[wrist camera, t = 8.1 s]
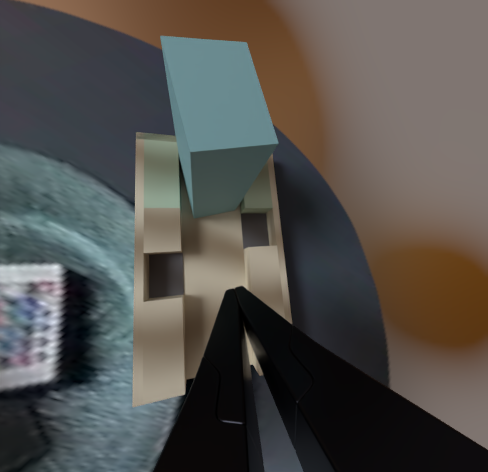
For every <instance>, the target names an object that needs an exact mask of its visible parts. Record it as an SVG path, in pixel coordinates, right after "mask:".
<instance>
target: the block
mask: <svg viewBox="0 0 488 472" xmlns="http://www.w3.org/2000/svg"><path fill="white" fill-rule="evenodd" d="M160 38H161V44H162V50H163V57H164V63H165V70H166V76H167V83H168V89H169V95H170V102H171V108H172V115H173V121H174V128H175V134H176V140H177V147H178V153H179V160H180V165H181V169H182V173H183V177H184V181H185V185H186V189H187V193H188V197H189V201H190V205H191V209H192V213H193V217H194V219H195V218H200V217H205V216H210V215H215V214H220V213H225V212H230V211H235V210H236V208H237V207H238V205H239V204H240V202H241V201H242V199H243V198H244V196H245V194H246V193H247V191H248V190H249V188H250V187H251V185H252V184H253V182H254V181H255V179H256V177H257V176H258V174H259V173H260V171H261V170H262V168H263V167H264V165H265V164H266V162H267V161H268V159H269V157H270V156H271V154H272V153H273V151H274V150H275V148H276V147H277V145H278V140H277V137H276V134H275V131H274V128H273V125H272V121H271V118H270V115H269V112H268V109H267V106H266V102H265V99H264V96H263V93H262V90H261V87H260V83H259V80H258V77H257V74H256V71H255V68H254V65H253V61H252V58H251V55H250V52H249V49H248V45H247V43H246V42H234V41H221V40H208V39H195V38H182V37H168V36H160Z"/></svg>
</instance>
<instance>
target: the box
mask: <svg viewBox="0 0 488 472" xmlns="http://www.w3.org/2000/svg"><path fill="white" fill-rule="evenodd" d="M238 286H244V287H245V288H246V289H247V290H249V291H250V292H251V293H252V294H254V295H255V296H256V297H258V298H259V299H260V300H261V301H263V302H264V303H265V304H267V305H268V306H269V307H270V308H272V309H273V310H274V311H275V312H277V313H278V314H279V315H281V316H282V317H283V318H284V319H286V320H287V321H288V322H289V323H291V324H292V317H291V309H290V300H289V292H288V283H287V275H286V266H285V257H284V249H283V240H282V232H281V223H280V215H279V206H278V198H277V189H276V181H275V172H274V163H273V155H272V154H271V156H270V157H269V159H268V161H267V162H266V164H265V165H264V167H263V168H262V170H261V171H260V173H259V174H258V176H257V177H256V179H255V181H254V182H253V184H252V185H251V187H250V188H249V190H248V191H247V193H246V194H245V196H244V198H243V199H242V201H241V202H240V204H239V205H238V207H237V208H236V210H235V211H230V212H225V213H220V214H215V215H210V216H205V217H200V218H195V219H194V217H193V213H192V209H191V205H190V201H189V197H188V193H187V189H186V185H185V181H184V177H183V173H182V169H181V165H180V160H179V153H178V147H177V140H176V136H171V135H160V134H150V133H139V132H136V180H135V258H134V336H133V407H136V406H140V405H144V404H148V403H152V402H156V401H160V400H164V399H168V398H172V397H176V396H180V395H184V394H185V389H186V380H187V379H191V378H195V376H196V373H197V371H198V368H199V365H200V362H201V359H202V357H204V356H203V354H204V352H205V349H206V346H207V343H208V340H209V337H210V334H211V331H212V328H213V325H214V323H215V320H216V317H217V314H218V311H219V308H220V305H221V302H222V299H223V297H224V294H225V291H226V290H228V289H232V288H235V287H238ZM244 329H245V328H244ZM245 333H246V331H245ZM246 340H247V347H248V355H249V362H250V365H252V364H253V365H254V367H255V369H256V370H257V372H258V374H259V376H261V375H263V372H262V370H261V367H260V365H259V363H258V360H257V358H256V356H255V353H254V351H253V348H252V346H251V344H250V341H249V339H248V336H247V334H246Z"/></svg>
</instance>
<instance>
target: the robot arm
mask: <svg viewBox="0 0 488 472" xmlns="http://www.w3.org/2000/svg"><path fill="white" fill-rule="evenodd" d="M244 328H245V329H244ZM245 331H246V333H245ZM246 334H247V336H248V339H249V341H250V344H251V346H252V348H253V351H254V353H255V356H256V358H257V360H258V363H259V365H260V367H261V370H262V372H263V375H264V377H265V379H266V382H267V384H268V387H269V389H270V391H271V394H272V396H273V399H274V401H275V403H276V406H277V408H278V411H279V413H280V415H281V418H282V420H283V423H284V425H285V427H286V430H287V432H288V435H289V437H290V439H291V442H292V444H293V446H294V449H295V450H296V454H297V456H298V459H299V461H300V463H301V466H302V469H303V471H304V472H488V450H487V449H486V448H484V447H482V446H481V445H479V444H477V443H476V442H474V441H473V440H471V439H470V438H468V437H466V436H465V435H463V434H461V433H460V432H458V431H456V430H455V429H454V428H452V427H450V426H449V425H447V424H446V423H444V422H442V421H441V420H439V419H438V418H436V417H434V416H433V415H431V414H430V413H428V412H426V411H425V410H423V409H422V408H420V407H418V406H417V405H415V404H413V403H412V402H410V401H409V400H407V399H406V398H404V397H402V396H401V395H399V394H398V393H396V392H394V391H393V390H391V389H390V388H388V387H386V386H385V385H383V384H382V383H380V382H378V381H377V380H375V379H374V378H372V377H370V376H369V375H367V374H366V373H364V372H362V371H361V370H359V369H358V368H356V367H354V366H353V365H351V364H350V363H348V362H346V361H345V360H343V359H342V358H340V357H338V356H337V355H335V354H334V353H332V352H330V351H329V350H327V349H326V348H324V347H323V346H321V345H320V344H318V343H317V342H315V341H314V340H312V339H311V338H309V337H308V336H307V335H305V334H304V333H303V332H301V331H300V330H299V329H298V328H296V327H295V326H293V325H292V324H291V323H289V322H288V321H287V320H286V319H284V318H283V317H282V316H281V315H279V314H278V313H277V312H275V311H274V310H273V309H272V308H270V307H269V306H268V305H267V304H265V303H264V302H263V301H261V300H260V299H259V298H258V297H256V296H255V295H254V294H252V293H251V292H250V291H249V290H247V289H246V288H245V287H244V286H238V287H235V288H232V289H228V290H226V291H225V294H224V297H223V299H222V302H221V305H220V308H219V311H218V314H217V317H216V320H215V323H214V325H213V328H212V331H211V334H210V337H209V340H208V343H207V346H206V349H205V352H204V354H203V356H204V357H202V359H201V362H200V365H199V368H198V371H197V373H196V376H195V379H194V381H193V384H192V386H191V389H190V391H189V393H188V395H187V398H186V400H185V402H184V405H183V407H182V409H181V411H180V413H179V416H178V418H177V420H176V422H175V424H174V426H173V429H172V431H171V433H170V435H169V437H168V439H167V442H166V444H165V446H164V448H163V450H162V453H161V455H160V457H159V459H158V461H157V463H156V466H155V468H154V470H153V472H265V471H264V466H263V457H262V449H261V442H260V435H259V427H258V420H257V413H256V406H255V398H254V391H253V384H252V376H251V369H250V362H249V355H248V347H247V340H246Z"/></svg>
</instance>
